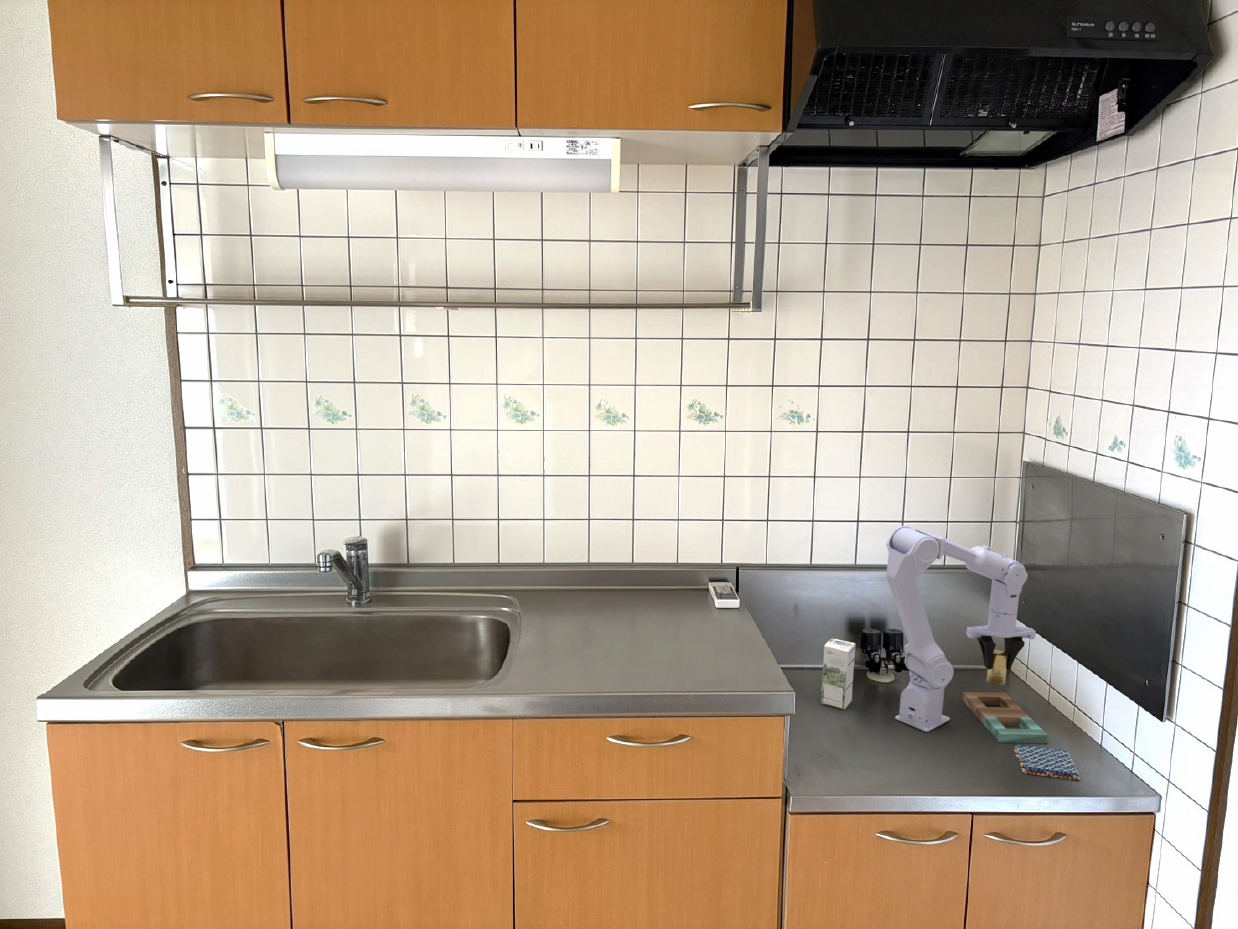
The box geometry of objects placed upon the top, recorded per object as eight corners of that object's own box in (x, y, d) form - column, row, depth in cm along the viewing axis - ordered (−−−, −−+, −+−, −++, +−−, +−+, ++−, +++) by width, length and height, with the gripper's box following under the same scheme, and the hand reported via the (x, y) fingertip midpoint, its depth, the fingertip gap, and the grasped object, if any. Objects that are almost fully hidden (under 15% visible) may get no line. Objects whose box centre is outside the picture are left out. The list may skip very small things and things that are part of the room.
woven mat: (1067, 757, 175) (1068, 748, 174) (1081, 784, 165) (1082, 775, 164) (1012, 750, 177) (1013, 741, 177) (1022, 776, 167) (1023, 767, 167)
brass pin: (999, 687, 190) (1002, 657, 189) (983, 681, 193) (986, 652, 192) (1008, 682, 192) (1011, 653, 191) (991, 677, 195) (994, 648, 194)
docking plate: (1046, 743, 179) (1047, 734, 179) (999, 742, 179) (1000, 733, 179) (1005, 700, 199) (1005, 692, 198) (962, 700, 199) (963, 692, 199)
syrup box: (852, 701, 197) (856, 642, 195) (844, 711, 192) (848, 650, 190) (828, 695, 200) (832, 636, 198) (819, 704, 195) (823, 644, 193)
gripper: (1027, 604, 193) (1021, 661, 196) (963, 603, 194) (958, 660, 196) (1042, 615, 187) (1035, 674, 189) (976, 614, 187) (970, 672, 189)
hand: (997, 667), depth 192 cm, fingers closed on brass pin, 4 cm apart
